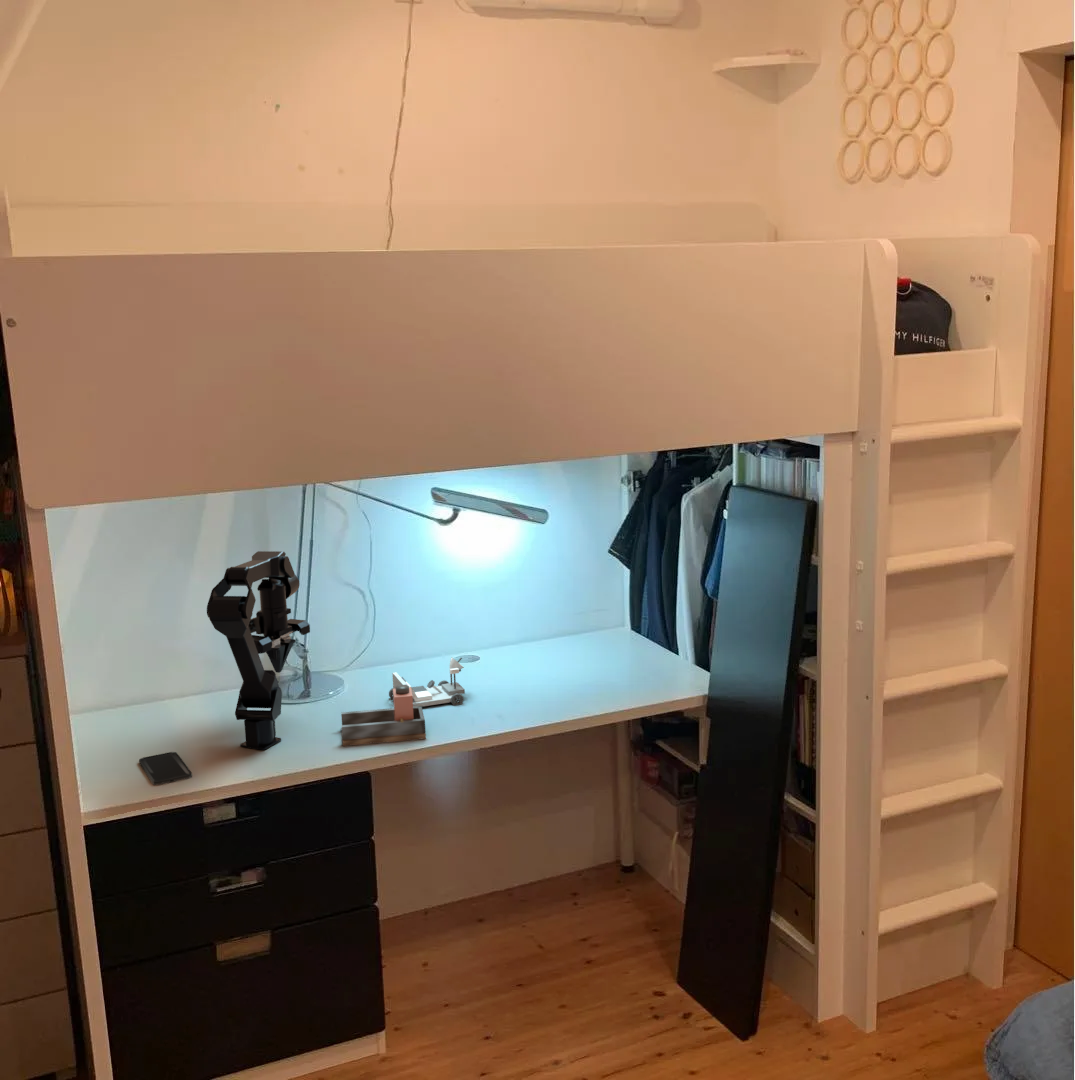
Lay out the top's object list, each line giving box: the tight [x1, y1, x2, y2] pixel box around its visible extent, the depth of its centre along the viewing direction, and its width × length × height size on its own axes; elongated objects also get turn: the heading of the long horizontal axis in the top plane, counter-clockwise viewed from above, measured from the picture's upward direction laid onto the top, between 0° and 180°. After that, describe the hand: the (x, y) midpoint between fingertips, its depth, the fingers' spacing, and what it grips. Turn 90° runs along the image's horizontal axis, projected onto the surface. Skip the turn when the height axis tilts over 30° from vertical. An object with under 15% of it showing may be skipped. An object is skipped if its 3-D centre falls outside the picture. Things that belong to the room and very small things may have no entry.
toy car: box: [388, 657, 466, 707], centre depth 277 cm, size 18×10×12 cm
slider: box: [392, 685, 414, 721], centre depth 257 cm, size 4×6×9 cm, turn 10°
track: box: [340, 706, 427, 747], centre depth 257 cm, size 18×11×4 cm, turn 100°
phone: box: [138, 751, 193, 786], centre depth 239 cm, size 8×1×15 cm
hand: (278, 672), depth 263 cm, fingers closed
